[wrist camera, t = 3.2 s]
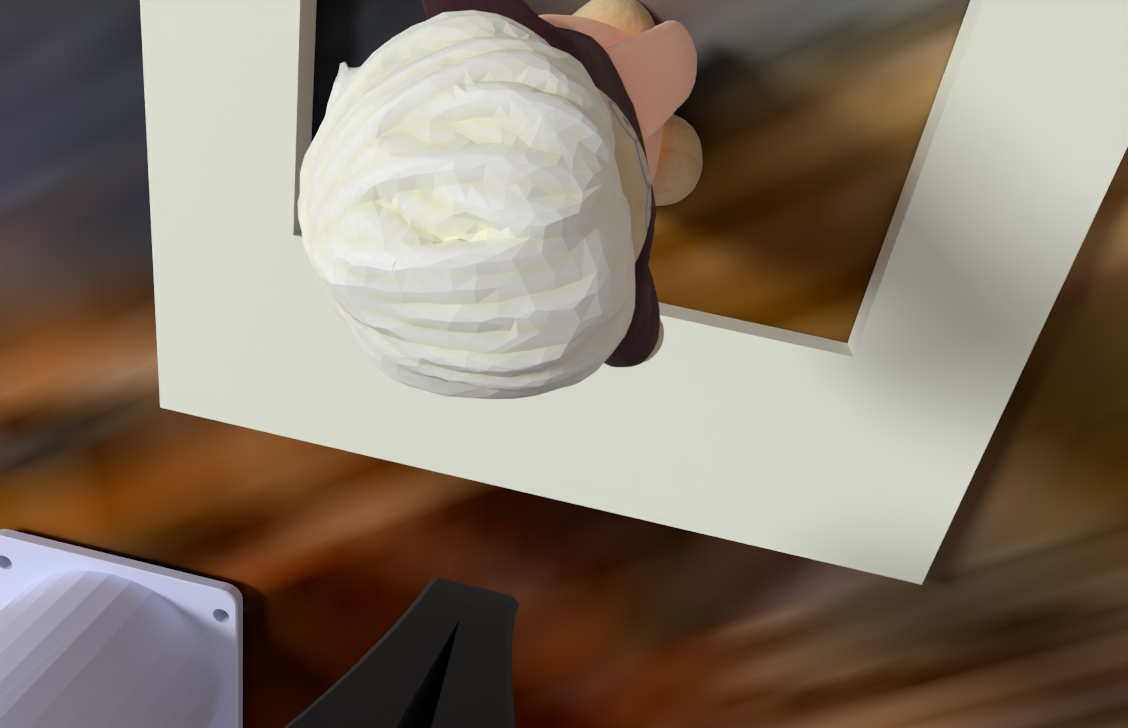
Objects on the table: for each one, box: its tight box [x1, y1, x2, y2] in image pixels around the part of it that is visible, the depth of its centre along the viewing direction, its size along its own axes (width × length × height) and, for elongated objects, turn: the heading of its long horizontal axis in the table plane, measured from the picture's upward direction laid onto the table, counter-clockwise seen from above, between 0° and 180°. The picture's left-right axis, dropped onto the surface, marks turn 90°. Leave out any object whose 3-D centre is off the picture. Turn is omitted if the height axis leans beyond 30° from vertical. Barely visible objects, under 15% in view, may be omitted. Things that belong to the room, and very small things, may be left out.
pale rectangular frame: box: [140, 0, 1128, 585], centre depth 17 cm, size 18×20×1 cm
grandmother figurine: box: [298, 0, 703, 399], centre depth 11 cm, size 8×4×13 cm, turn 33°
